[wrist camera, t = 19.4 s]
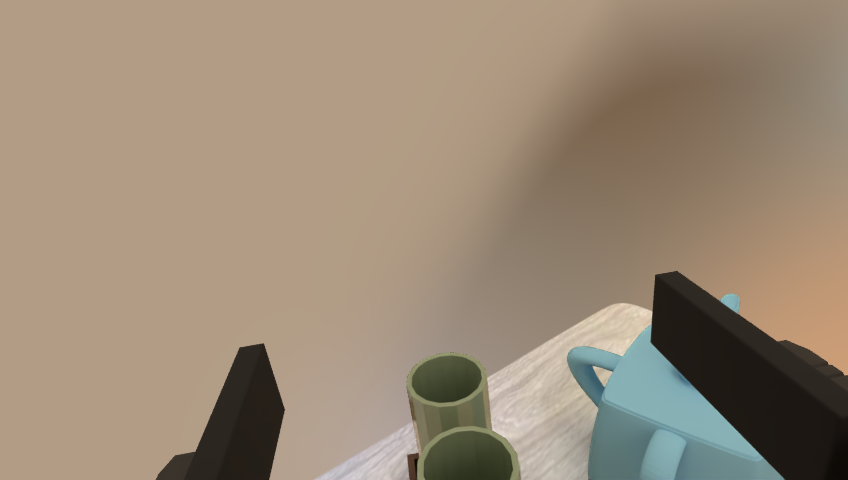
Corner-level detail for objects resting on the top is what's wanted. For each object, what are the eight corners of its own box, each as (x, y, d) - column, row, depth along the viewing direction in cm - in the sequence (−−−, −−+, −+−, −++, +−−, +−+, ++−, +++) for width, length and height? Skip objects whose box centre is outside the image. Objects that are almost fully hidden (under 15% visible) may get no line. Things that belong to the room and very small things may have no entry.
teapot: (869, 588, 31) (928, 437, 26) (617, 597, 32) (625, 455, 27) (719, 396, 48) (736, 281, 43) (557, 408, 49) (555, 297, 44)
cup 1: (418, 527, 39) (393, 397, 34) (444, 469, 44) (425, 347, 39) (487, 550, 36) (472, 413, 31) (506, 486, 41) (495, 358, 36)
